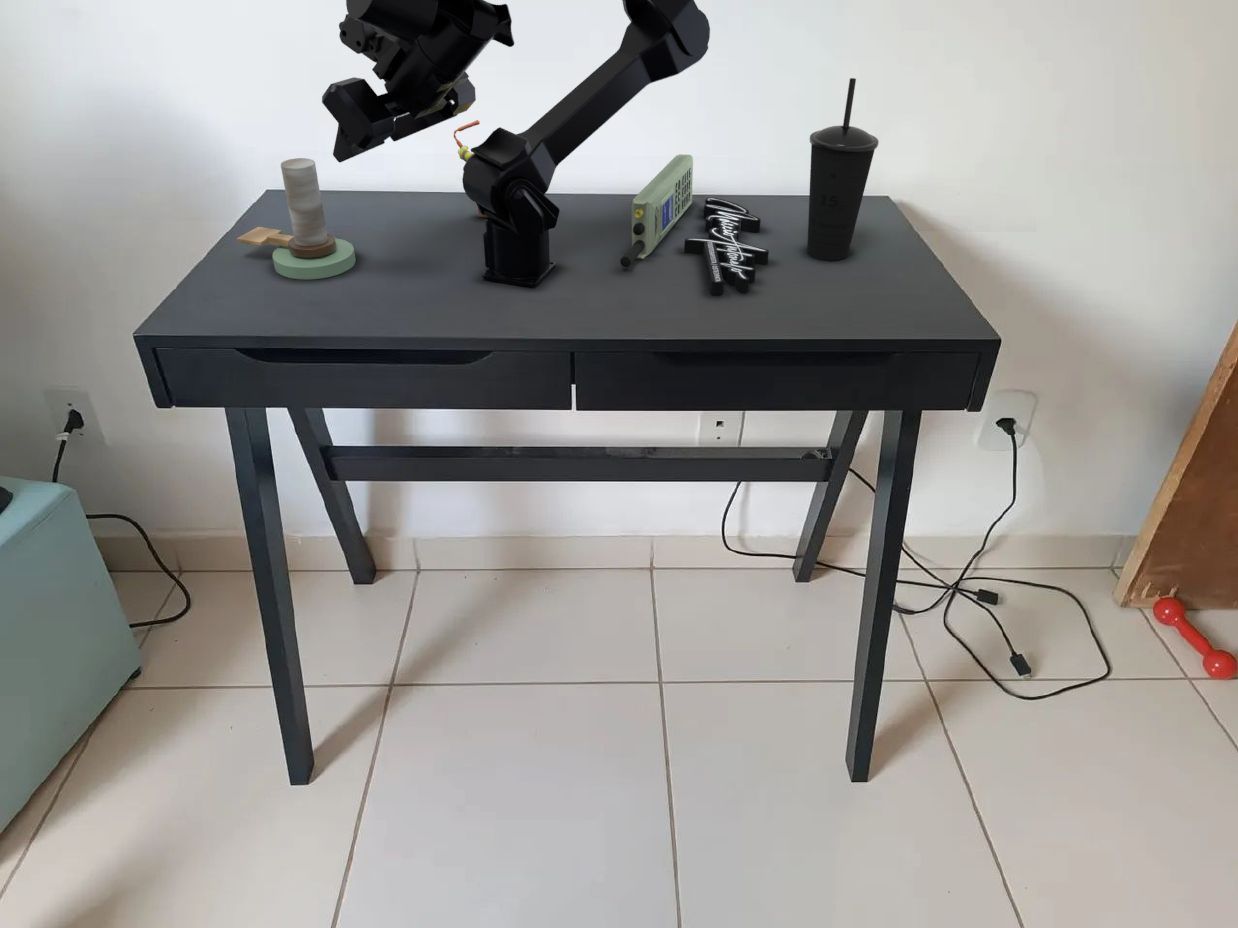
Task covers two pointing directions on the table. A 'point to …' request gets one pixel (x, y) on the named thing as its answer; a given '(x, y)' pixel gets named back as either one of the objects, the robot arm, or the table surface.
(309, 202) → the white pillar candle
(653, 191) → the handheld radio
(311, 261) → the stand
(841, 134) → the drinking cup
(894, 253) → the table surface
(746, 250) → the nameplate
